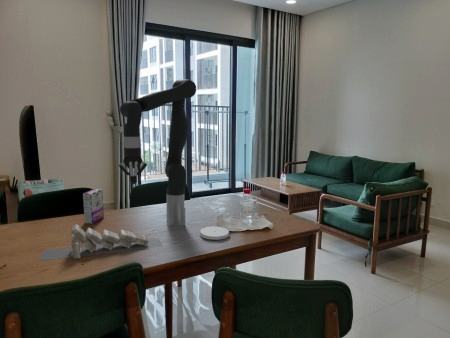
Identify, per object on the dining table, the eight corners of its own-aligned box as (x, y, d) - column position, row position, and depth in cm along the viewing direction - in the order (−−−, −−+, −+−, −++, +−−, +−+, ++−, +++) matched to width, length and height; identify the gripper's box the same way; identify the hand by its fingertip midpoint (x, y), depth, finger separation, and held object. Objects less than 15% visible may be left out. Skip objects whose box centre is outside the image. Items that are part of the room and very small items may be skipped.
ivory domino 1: (95, 243, 145) (76, 223, 141) (96, 248, 139) (76, 228, 135) (91, 247, 144) (71, 227, 140) (91, 252, 139) (71, 232, 135)
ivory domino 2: (113, 240, 147) (88, 227, 143) (113, 245, 142) (88, 232, 137) (110, 245, 147) (85, 232, 143) (110, 250, 142) (84, 237, 137)
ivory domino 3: (130, 238, 150) (104, 229, 145) (131, 243, 144) (104, 234, 140) (127, 243, 150) (101, 234, 145) (129, 248, 144) (102, 239, 140)
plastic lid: (206, 243, 155) (207, 238, 155) (195, 233, 168) (195, 228, 167) (233, 239, 161) (233, 234, 161) (221, 229, 174) (221, 225, 173)
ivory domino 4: (146, 236, 153) (120, 229, 148) (148, 241, 147) (122, 234, 142) (144, 241, 153) (118, 234, 148) (146, 246, 147) (119, 239, 142)
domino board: (158, 240, 157) (158, 237, 157) (162, 248, 148) (162, 245, 148) (42, 253, 140) (42, 250, 140) (39, 263, 131) (39, 260, 130)
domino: (78, 233, 143) (78, 243, 132) (80, 246, 144) (80, 257, 133) (72, 234, 142) (71, 244, 131) (74, 247, 143) (73, 259, 132)
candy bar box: (95, 217, 188) (94, 188, 185) (104, 218, 187) (103, 189, 184) (83, 223, 177) (82, 193, 174) (92, 224, 176) (91, 193, 173)
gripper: (145, 145, 158) (146, 181, 161) (116, 146, 153) (117, 183, 156) (148, 146, 152) (149, 184, 155) (117, 147, 147) (119, 186, 150)
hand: (133, 183), depth 156 cm, fingers closed
